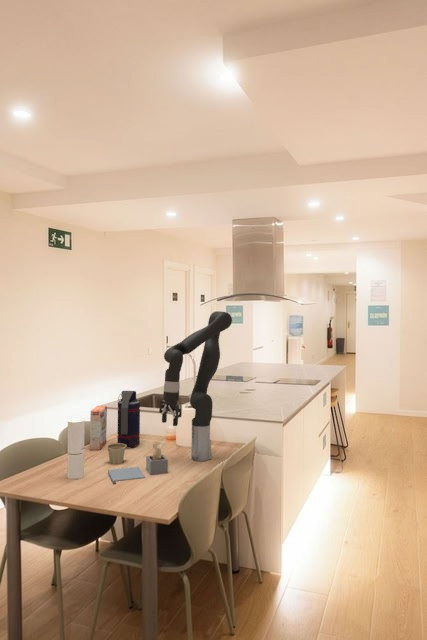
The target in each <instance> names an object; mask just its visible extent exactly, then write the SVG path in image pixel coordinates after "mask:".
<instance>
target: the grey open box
mask: <svg viewBox="0 0 427 640" xmlns="http://www.w3.org/2000/svg"><path fill="white" fill-rule="evenodd" d="M145 457H146V458H145V470H146V471H147V473H148V474H149V475H151V476H152V475H161V474H163V475H164V474H168V472H169V471H168V469H169V460H168V458H167V456H165V455H164V454H161V460H153V455H146V456H145Z"/></svg>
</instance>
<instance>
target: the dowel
mask: <svg viewBox="0 0 427 640" xmlns="http://www.w3.org/2000/svg"><path fill="white" fill-rule="evenodd" d="M161 455H162V441H157V440H156V441H153V442H152V456H153V460H161Z"/></svg>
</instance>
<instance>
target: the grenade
mask: <svg viewBox="0 0 427 640" xmlns="http://www.w3.org/2000/svg"><path fill="white" fill-rule="evenodd" d="M140 408H141V401H140V400H138V399H137V391H136V390H122V391H121V393H120V394H119V395H118V398H117V443H122V444H125V445H126V448H127V447H128V448H129V447H130V449H135V448H136V447H137V446H138V445H140V441H141V440H140V436H141V435H140V433H141V431H140V430H141V429H140V428H141V427H140V426H141V423H140V422H141V419H140V418H141V409H140Z"/></svg>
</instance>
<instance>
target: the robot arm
mask: <svg viewBox="0 0 427 640" xmlns="http://www.w3.org/2000/svg"><path fill="white" fill-rule="evenodd" d="M232 323H233V317H232V315H231V314H230V313H228V312H227V311H219V310H218V311H212V313H211V314H210V315H209V318H208V321H207V325H206V326H205V327H202V328H201V329H199V330H197V331H195V332H193V333H191V334H189V335H188V336H186V338H184V339H183V340H182V341H180V342H178V343H176V344H174V345H173V346H171V347H170V348H168V349H166V350H165V352H164V354H163V355H164V356H163V359H164V361H165V362H167V363H168V364H169V365H168V368H166V369H165V374H164V383H163V394H162V395H163V396H162V397H163V400H160V401H159V411H158V412H159V413H160V414H161V422H162V423H167V418H168V417H167V416H168V413H170V414H171V415H172V418H173V419H172V427H177V426H178V424H179V422H178V421H179V418H182V414H183V413H182V409H183V407H182V406H183V405H182V404H178V401H180V400H179V399H180V388H181V387H180V379H181V378H180V377H181V376H180V375H181V374H180V373H181V370H182V366H183V362H184V355H187V354H191V353H192V352H194V350H196V349H197V348H199V346H201V345H202V344H204V345H203V350H202V354H201V358H200V362H199V366H198V371H197V376H196V379H195V383H194V385H193V386H194V387H193V388H192V391H191V395H190V396H189V397H190V398H189V404H190V407H191V408H192V409H193V410H195V412H194V417H193V418H192V419H191V454H190V455H191V460H192V461H194V462H206V461H209V460H212V440H211V420H212V418H213V399H212V397H211V396H210V394H207V393H208V388H209V384H210V382H211V380H212V379H213V377H214V376H215V374H216V372H217V370H218V368H219V367H218V366H219V363H220V359H221V349H220V336H221V332H223V331H225V330H227V329H228V328H230V327H231V325H232Z"/></svg>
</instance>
